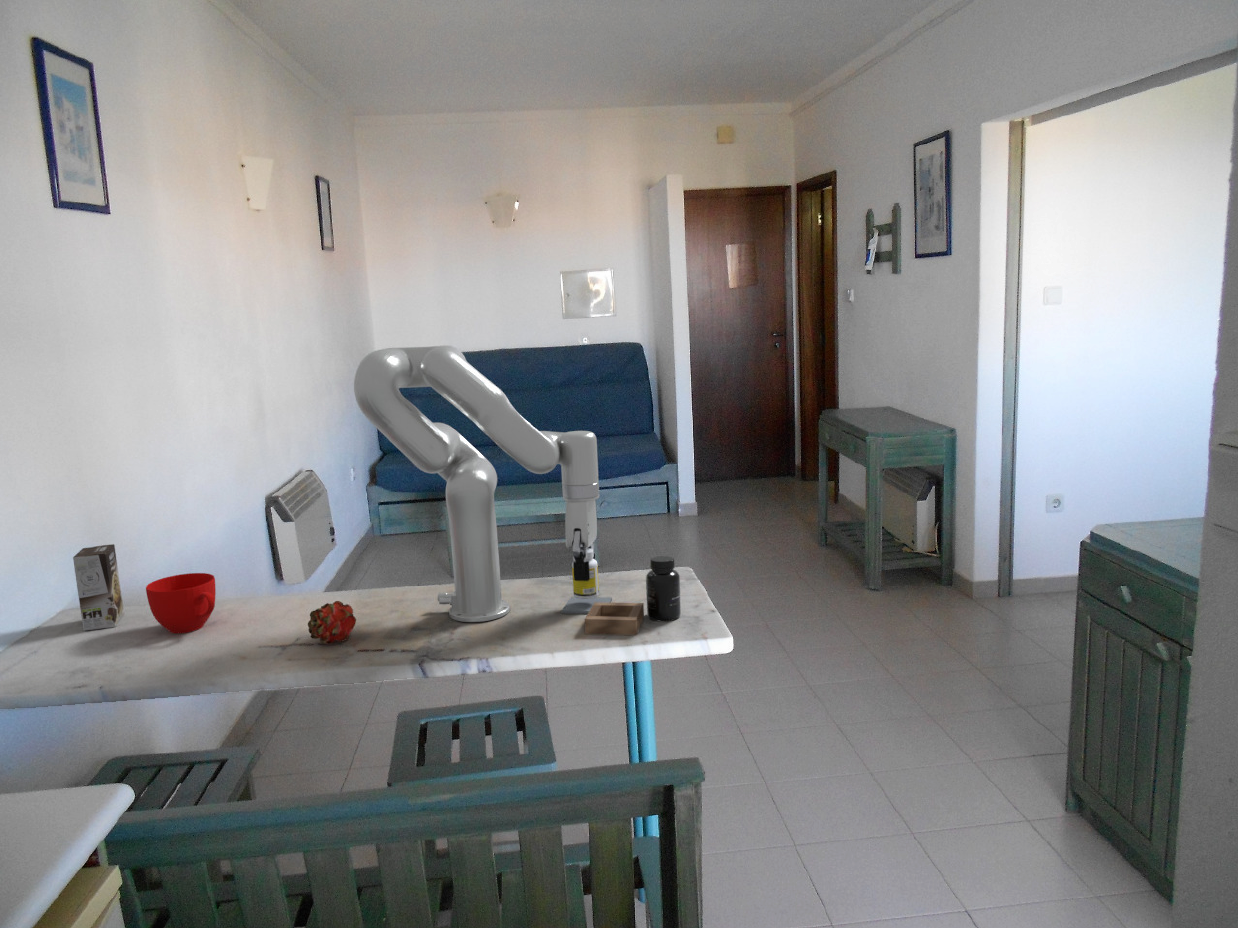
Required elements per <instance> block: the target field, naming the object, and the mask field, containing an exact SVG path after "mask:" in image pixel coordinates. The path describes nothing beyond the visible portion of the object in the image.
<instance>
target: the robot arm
mask: <svg viewBox="0 0 1238 928" xmlns="http://www.w3.org/2000/svg"><path fill="white" fill-rule="evenodd" d="M353 380H354V382H353V392H354V393H353V394H354V396H355V401H356V402H357V403H356V404H357V406H358V408H359V409H360V411H361V413H362V414H363V415H364V417H365V418H366V419H367V420H368V421H369V422H370V423H371V424H372V425H373V426H374V427H375V428H376V429H377V430H378V431H379V432H380V433H381V434H382V435H384V437H386V439H388V441H389V442H390V443H392V445H394V446H395V448H397V449H398V450H399V451H400V453H401V454H403V455H404V456H405V457H406V458H407V459H408V460H409V461H410V462H411V463H412V464H413V465H414V466H415V467H416V468H417V469H419V470H420V471H422V472H424V473H427V474H438V475H439V476H440V477H441V478H442V479H443V480H445V482H446V484H445V485H446V486H445V502H446V509H447V515H448V523H449V533H450V545H451V554H452V555H451V556H452V568H453V570H452V571H453V583H454V591H452V592H438V594H437V602H438V603H439V605H450V608H449V609H448V615H449V617H450V618H451V619H453V620H454V621H458V622H462V623H463V622H464V623H481V622H482V623H483V622H487V621H493V620H497V619H500V618H502V617H504V616H506V615H507V614H509V612H510V610H511V607H510V606H511V604H510V603H509V602H508V601H507V600H504V599H502V583H501V570H500V556H499V553H500V552H499V542H498V541H499V540H498V528H497V527H498V526H497V517H496V516H497V515H496V507H495V491H496V487H497V484H498V474H497V472H496V469H495V466H493V464H492V463H491V462H490V460H488V459H487V458H486V457H485V456H484V455H483V454H482V453H481V452H480V451H479V450H478V449H477V448H475V447H474V446H473V445H472V444H471V443H470V442H469V441H468V440H467V439H466V438H465V436H462V435H461V433H459V432H458V431H457V430H456V429H454V428H453V427H452V426H451V425H449V424H446V423H444V422H433V421H431V420H430V419H429V418H428V417H427V416H426V415H425V414H424V413H422V411H421V410H420V409H418V407H416V406H415V405H414V404H413V403H412V402H411V401H410V400H408V399H407V398H405V397H404V395H403V394H402V393H401V391H400V389H403V388H404V389H405V388H427V387H428V388H429V387H430V388H432V389H433V390H434V391H435V392H436V393H437V394H439V395H441V397H443V398H444V399H445V400H447V401H448V402H449V403H450V405H451V404H452V406H454V407H455V408H456V409H458V411H460V412H461V413H462V414H464V415H465V416H466V417H467V418H468V419H469V420H470V421H472V422H473V423H474V424H475V425H476V426H477V427H478V428H479V429H480V430H481V431H482V432H483V433H484V434H485V435H487V437H489V438H490V440H492V442H494V444H496V445H497V446H498V447H499V448H500V449H502V451H504V452H505V453H506V454H507V455H508V456H510V457H511V458H512V459H514V461H516V462H517V463H518V464H519V465H520V466H522V467H523V468H524V469H526V470H527V471H528V472H530V473H533V474H537V475H543V474H544V475H545V474H547V473H549V472H551V471H553V470H554V469H555V468H556V466H557V465H560V466H561V467H560V468H561V487H562V499H563V500H564V501H565V514H564V515H565V516H564V517H565V518H564V519H565V521H564V523H565V547H566V548H567V549H570V548H571V547H572V563H573V567H574V580H575V581H589V579H590V573H589V561H587V550H588V548H589V549H593V553H594V557H593V559H595V560H596V553H595V550H596V549H595V541H596V539H597V535H598V521H597V520H598V519H597V506H596V504H597V503H596V500H598V499H599V498H600V486H599V485H600V482H599V461H598V460H599V459H598V443H597V442H598V441H597V436H596V435H595V433H594V432H592V431H590V430H589V431H588V430H574V431H567V432H561V431H550V430H548V431H547V430H538V429H537V428H536V427H534V426H533V425H532V424H531V423H530V422H529V421H527V420H526V418H524V417H523V416H522V415H521V414H520V413H519V412H518V411H517V410H516V409H515V407H514V406H513V405H512V403H511V402H510V400H509V399H508V396H507V395H506V394H505V392H503V390H502V389H501V388H499V386H496V384H494V383H493V382H492V381H491V380H489V379H488V378H487V377H486V376H485V375H484V374H482V373H481V372H480V371H478V370H477V369H476V368H475V367H473V366H472V365H471V364H470V363H469V362H468V361H467V359H466V357H465V355H464V354H463V352H462V351H461V350H460V349H458V348H456V347H454V346H451V345H435V346H412V347H409V346H408V347H388V348H382V349H378V350H374V351H372V352H370V353H368V354H366V355H365V356H364V357H363V359H362V360H361V361H360V363H359V365H358V366H357V369H356V371H355V375H354V379H353ZM581 550H584V555H583V552H581Z"/></svg>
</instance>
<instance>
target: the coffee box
mask: <svg viewBox="0 0 1238 928" xmlns="http://www.w3.org/2000/svg"><path fill="white" fill-rule="evenodd" d="M115 547H116V546H115V544H114V543H113V544H104V545H97V546H90V547H83V548H81V550H79V551H77V553H76V554H75V555H74V556H73V557H72V559H73V566H74V573H75V574H74V575H75V581H76V589H77V594H78V595H77V596H78V601H79V608H80V615H81V621H82V622H81V623H82V630H83V632H84V631H85V632H86V631H92V630H99V629H109V628H115V627H117V626H118V624H119V622H121V620H122V618H123V617H124V615H125V610H124V609H125V608H124V602H123V601H124V600H123V596H122V590H121V581H120V575H119V568H118V567H119V566H118V561H117V554H116V548H115Z"/></svg>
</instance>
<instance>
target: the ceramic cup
mask: <svg viewBox="0 0 1238 928" xmlns="http://www.w3.org/2000/svg"><path fill="white" fill-rule="evenodd" d="M145 591H146V597H147V601H148V606H149V608H150V609H149V610H150V611H151V613H152V615H153V617H154V619H155V620H156V621H157V623H158V624H159V625H161V627H162V628H164V629H165V630H167V631H168V632H169V633H171V634H186V633H191V632H194V631H197V630H200V629H202V628H203V627H204V626H205V624H206V623H207V621H208V620H209V618H210V616H211V615H212V613H213V612H214V610H215V605H216V594H217V593H216V578H215V576H214V574H210V573H206V572H191V573H183V574H176V575H170V576H167V577H163V578H160V579H157V580H154V581H152V582H150V583H148V584H147V585H146V586H145Z"/></svg>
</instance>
